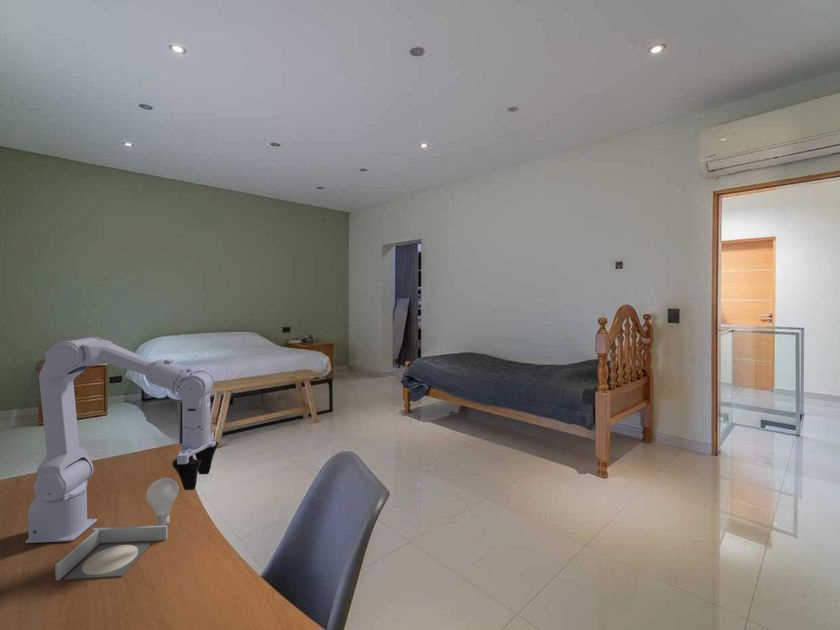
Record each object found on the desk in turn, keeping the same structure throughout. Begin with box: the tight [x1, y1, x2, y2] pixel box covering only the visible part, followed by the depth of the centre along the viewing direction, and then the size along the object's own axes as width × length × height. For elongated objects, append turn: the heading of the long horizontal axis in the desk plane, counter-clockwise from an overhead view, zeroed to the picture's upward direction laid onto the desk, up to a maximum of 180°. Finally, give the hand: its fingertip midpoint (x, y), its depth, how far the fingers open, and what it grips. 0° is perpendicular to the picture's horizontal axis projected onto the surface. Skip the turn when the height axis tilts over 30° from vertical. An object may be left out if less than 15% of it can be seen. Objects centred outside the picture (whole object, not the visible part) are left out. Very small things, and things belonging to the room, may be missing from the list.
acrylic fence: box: [54, 524, 169, 581], centre depth 81 cm, size 15×12×3 cm
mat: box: [64, 542, 152, 581], centre depth 80 cm, size 10×10×1 cm
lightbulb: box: [145, 477, 180, 526], centre depth 93 cm, size 6×6×11 cm
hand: (197, 481), depth 93 cm, fingers open, 7 cm apart
